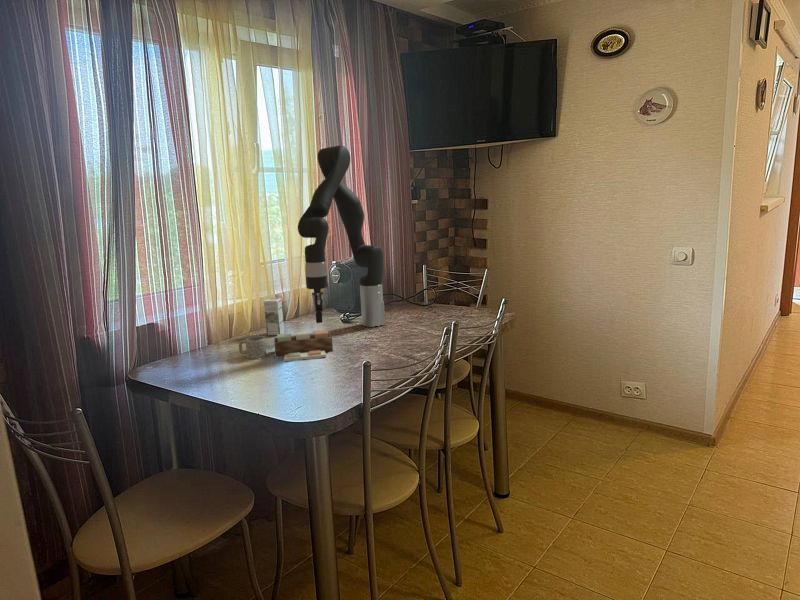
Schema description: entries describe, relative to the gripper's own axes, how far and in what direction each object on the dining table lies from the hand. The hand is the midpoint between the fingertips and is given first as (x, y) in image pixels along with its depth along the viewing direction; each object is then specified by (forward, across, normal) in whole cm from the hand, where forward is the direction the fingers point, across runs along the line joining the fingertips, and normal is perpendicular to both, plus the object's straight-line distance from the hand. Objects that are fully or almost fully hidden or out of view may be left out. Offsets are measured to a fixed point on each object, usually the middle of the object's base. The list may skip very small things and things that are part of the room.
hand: (319, 322), depth 205 cm
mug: (+11, 0, +24) cm, 26 cm away
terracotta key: (+6, 0, 0) cm, 6 cm away
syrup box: (+10, +29, +16) cm, 35 cm away
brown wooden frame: (+10, 0, +6) cm, 12 cm away
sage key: (+6, 0, +13) cm, 14 cm away
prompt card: (+10, -8, +6) cm, 14 cm away
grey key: (+6, 0, +6) cm, 9 cm away
